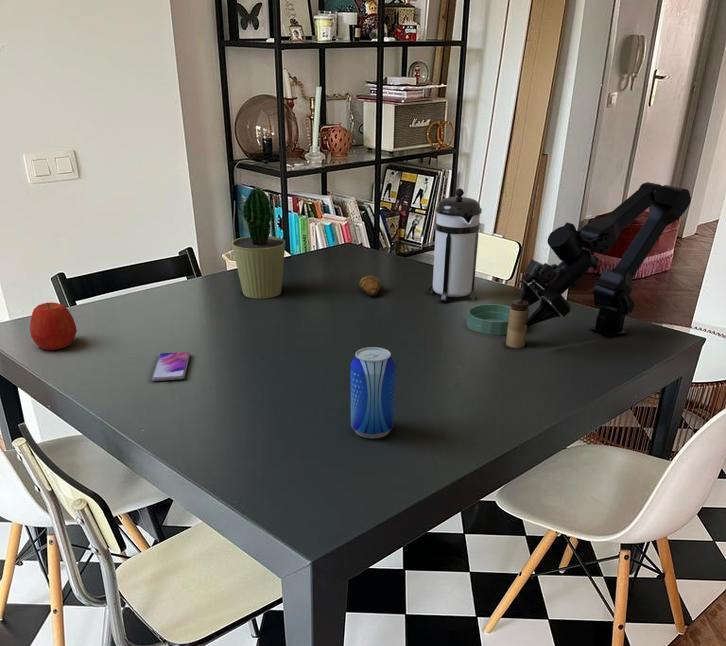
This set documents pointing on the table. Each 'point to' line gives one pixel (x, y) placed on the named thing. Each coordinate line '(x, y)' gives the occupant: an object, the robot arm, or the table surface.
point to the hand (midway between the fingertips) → (519, 318)
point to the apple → (52, 326)
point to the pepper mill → (517, 324)
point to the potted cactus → (259, 250)
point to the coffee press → (456, 246)
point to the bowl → (489, 319)
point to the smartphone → (171, 366)
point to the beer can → (372, 392)
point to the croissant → (370, 285)
